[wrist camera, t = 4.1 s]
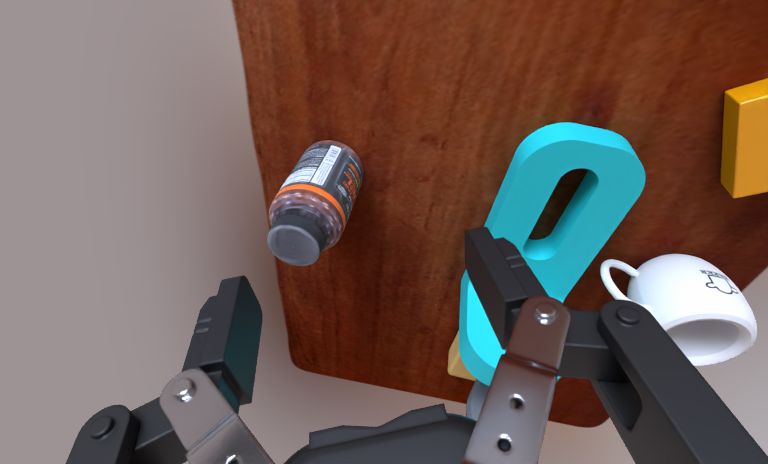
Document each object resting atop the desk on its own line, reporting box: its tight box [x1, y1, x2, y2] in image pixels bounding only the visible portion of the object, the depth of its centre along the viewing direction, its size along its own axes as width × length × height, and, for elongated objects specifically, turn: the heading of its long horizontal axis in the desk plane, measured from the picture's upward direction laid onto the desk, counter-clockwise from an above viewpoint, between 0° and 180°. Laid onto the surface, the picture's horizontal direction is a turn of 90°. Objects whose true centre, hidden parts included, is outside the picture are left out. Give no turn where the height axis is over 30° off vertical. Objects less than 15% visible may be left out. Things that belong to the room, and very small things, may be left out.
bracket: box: [459, 122, 645, 386], centre depth 33 cm, size 20×9×12 cm, turn 172°
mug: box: [600, 254, 757, 367], centre depth 35 cm, size 12×8×8 cm
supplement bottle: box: [267, 140, 364, 266], centre depth 33 cm, size 6×6×11 cm
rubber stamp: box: [448, 331, 506, 421], centre depth 45 cm, size 10×6×12 cm, turn 172°
